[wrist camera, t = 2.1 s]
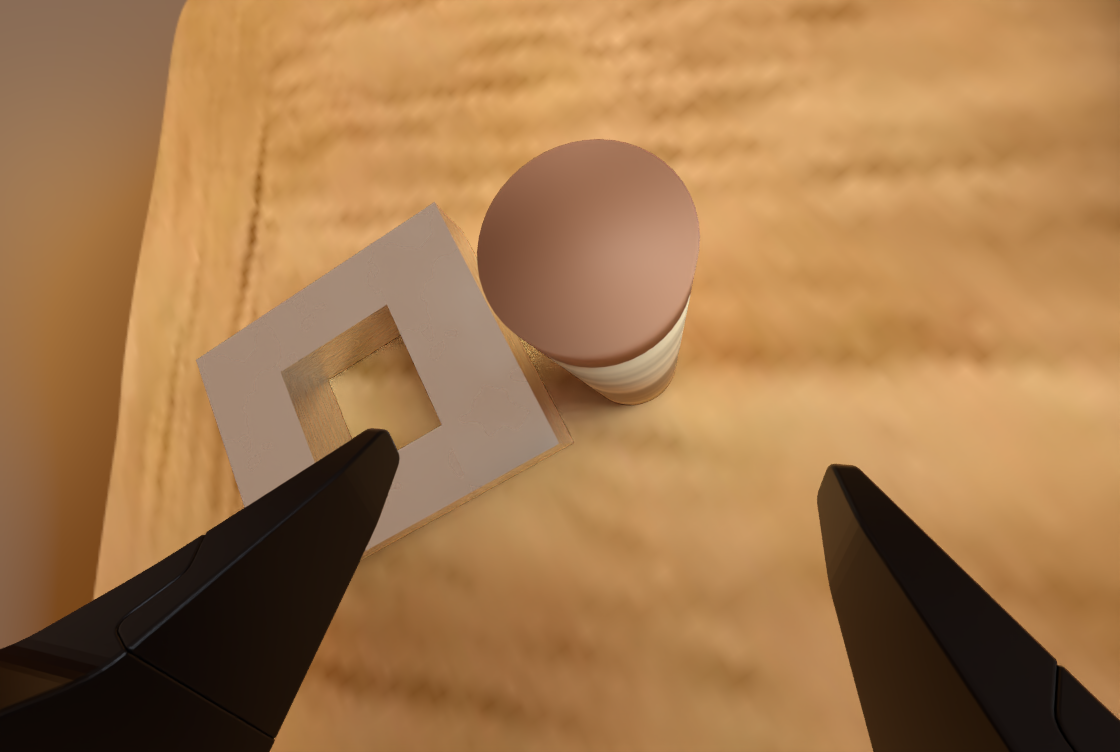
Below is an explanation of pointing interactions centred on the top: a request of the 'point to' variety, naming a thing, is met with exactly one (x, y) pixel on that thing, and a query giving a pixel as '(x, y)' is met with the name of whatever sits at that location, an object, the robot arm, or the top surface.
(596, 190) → the beech pin
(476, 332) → the square hole block
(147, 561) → the top surface
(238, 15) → the top surface
